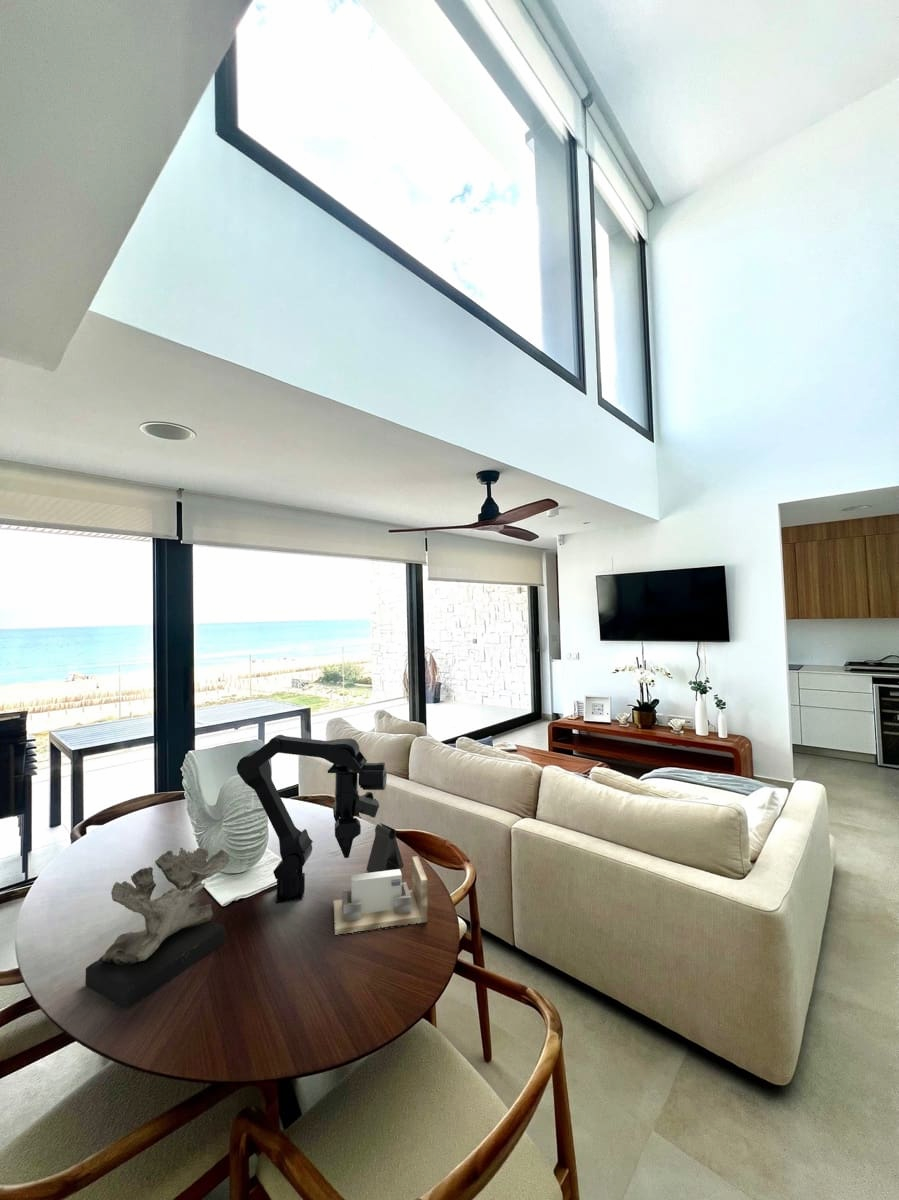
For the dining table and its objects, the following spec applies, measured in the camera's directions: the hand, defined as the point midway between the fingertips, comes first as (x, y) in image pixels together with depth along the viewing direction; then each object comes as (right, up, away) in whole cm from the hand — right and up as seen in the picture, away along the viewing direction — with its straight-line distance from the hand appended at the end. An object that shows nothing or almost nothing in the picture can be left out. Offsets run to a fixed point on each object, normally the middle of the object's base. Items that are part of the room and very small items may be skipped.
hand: (345, 849), depth 131 cm
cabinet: (+9, -12, -8) cm, 17 cm away
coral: (-30, -11, -26) cm, 41 cm away
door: (+9, -10, -8) cm, 16 cm away
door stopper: (+9, -13, +14) cm, 21 cm away
